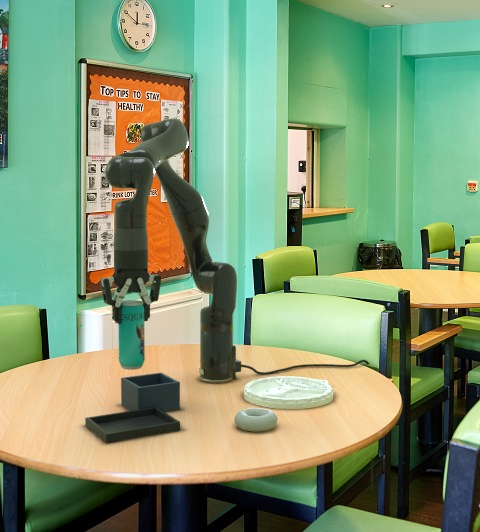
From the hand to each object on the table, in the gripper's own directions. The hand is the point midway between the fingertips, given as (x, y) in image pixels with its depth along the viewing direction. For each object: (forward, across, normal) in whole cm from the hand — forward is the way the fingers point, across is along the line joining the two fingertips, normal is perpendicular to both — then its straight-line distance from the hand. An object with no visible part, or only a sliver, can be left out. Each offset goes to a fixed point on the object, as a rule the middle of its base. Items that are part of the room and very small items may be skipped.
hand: (131, 321), depth 183 cm
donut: (+25, +25, -13) cm, 38 cm away
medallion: (+25, +47, +5) cm, 53 cm away
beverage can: (+11, 0, 0) cm, 11 cm away
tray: (+25, 0, 0) cm, 25 cm away
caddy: (+25, +10, +13) cm, 30 cm away
